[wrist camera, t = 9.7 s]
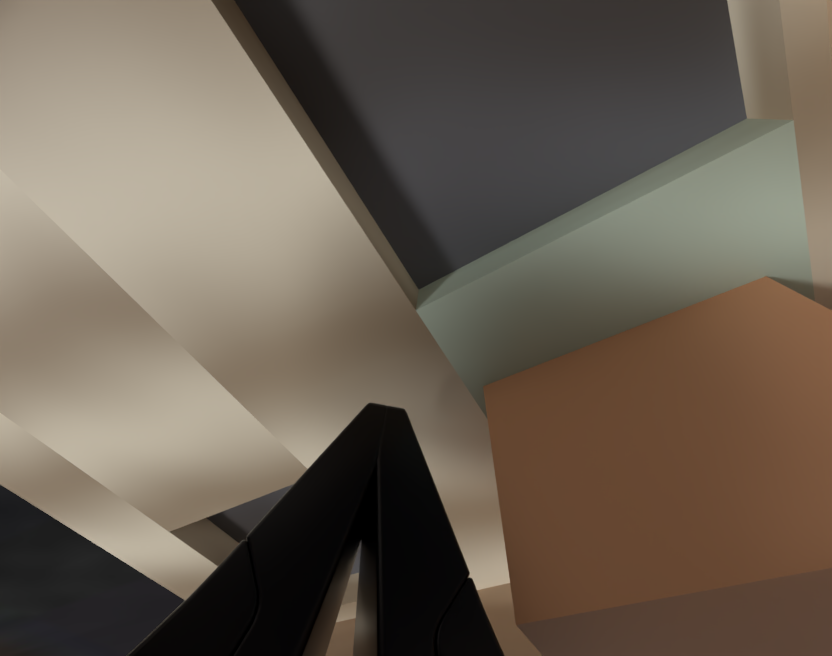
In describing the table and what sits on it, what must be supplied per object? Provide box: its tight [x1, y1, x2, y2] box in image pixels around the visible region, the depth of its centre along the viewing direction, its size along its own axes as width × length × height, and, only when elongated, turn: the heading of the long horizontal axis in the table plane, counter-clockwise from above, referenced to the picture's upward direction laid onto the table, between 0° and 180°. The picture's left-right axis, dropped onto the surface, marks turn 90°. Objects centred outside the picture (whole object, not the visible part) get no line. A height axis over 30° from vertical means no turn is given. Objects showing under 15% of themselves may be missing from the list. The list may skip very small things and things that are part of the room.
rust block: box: [483, 276, 832, 656], centre depth 7 cm, size 6×6×4 cm
